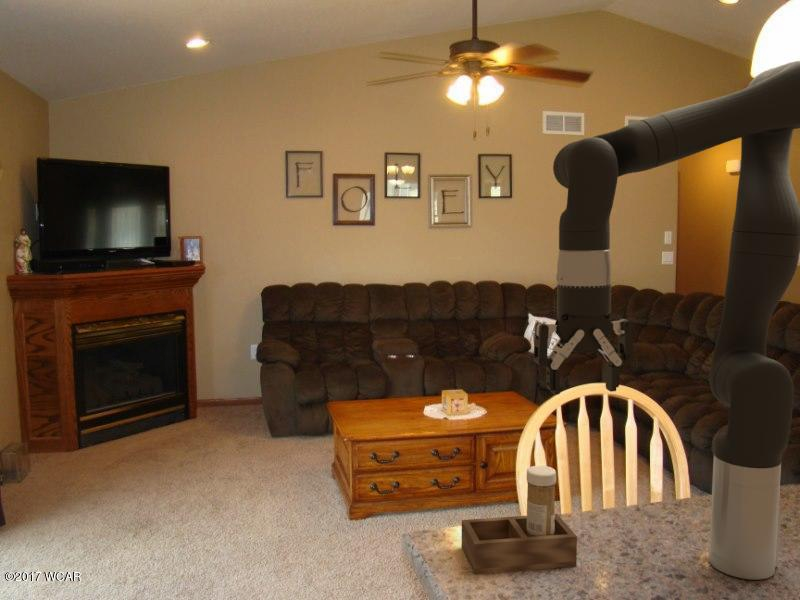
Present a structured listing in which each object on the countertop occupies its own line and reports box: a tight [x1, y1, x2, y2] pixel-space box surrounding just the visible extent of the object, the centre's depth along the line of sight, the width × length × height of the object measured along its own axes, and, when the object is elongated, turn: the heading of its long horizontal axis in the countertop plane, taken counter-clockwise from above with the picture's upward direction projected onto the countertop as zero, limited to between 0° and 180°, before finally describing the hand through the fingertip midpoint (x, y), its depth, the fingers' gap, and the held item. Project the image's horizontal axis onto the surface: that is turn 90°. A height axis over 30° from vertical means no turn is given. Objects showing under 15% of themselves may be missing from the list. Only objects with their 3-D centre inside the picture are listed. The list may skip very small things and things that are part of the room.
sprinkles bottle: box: [526, 465, 557, 537], centre depth 112 cm, size 5×5×14 cm
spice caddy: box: [461, 513, 578, 575], centre depth 112 cm, size 16×9×5 cm, turn 98°
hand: (583, 391), depth 103 cm, fingers open, 8 cm apart
